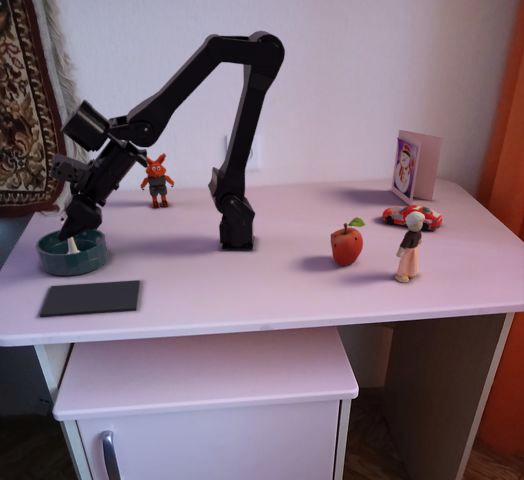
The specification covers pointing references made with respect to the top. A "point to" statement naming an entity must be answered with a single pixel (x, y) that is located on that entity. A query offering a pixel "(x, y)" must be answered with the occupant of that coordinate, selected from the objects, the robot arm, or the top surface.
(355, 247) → the apple
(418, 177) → the greeting card
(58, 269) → the bowl
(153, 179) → the toy animal
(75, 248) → the chess piece
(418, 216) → the grandmother figurine
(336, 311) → the top surface
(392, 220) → the race car
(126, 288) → the mat
